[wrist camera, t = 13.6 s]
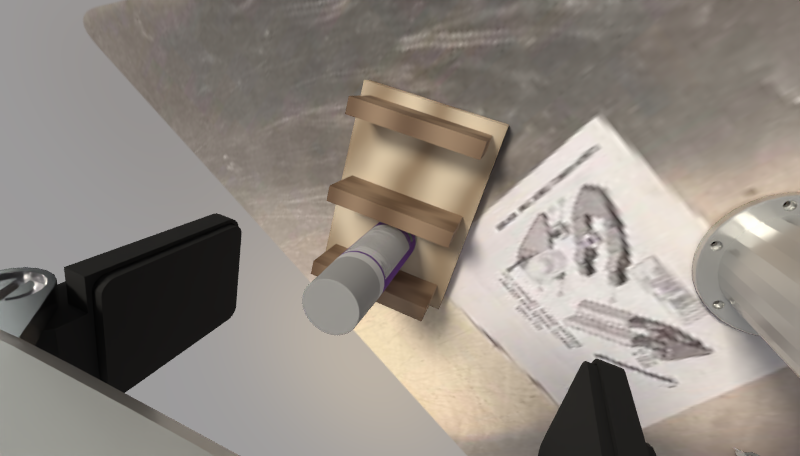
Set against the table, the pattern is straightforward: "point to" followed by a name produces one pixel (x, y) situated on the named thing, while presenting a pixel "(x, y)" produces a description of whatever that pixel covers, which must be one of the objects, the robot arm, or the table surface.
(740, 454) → the graphics card
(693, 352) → the table surface
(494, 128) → the slot rack
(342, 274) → the container
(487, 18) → the table surface
